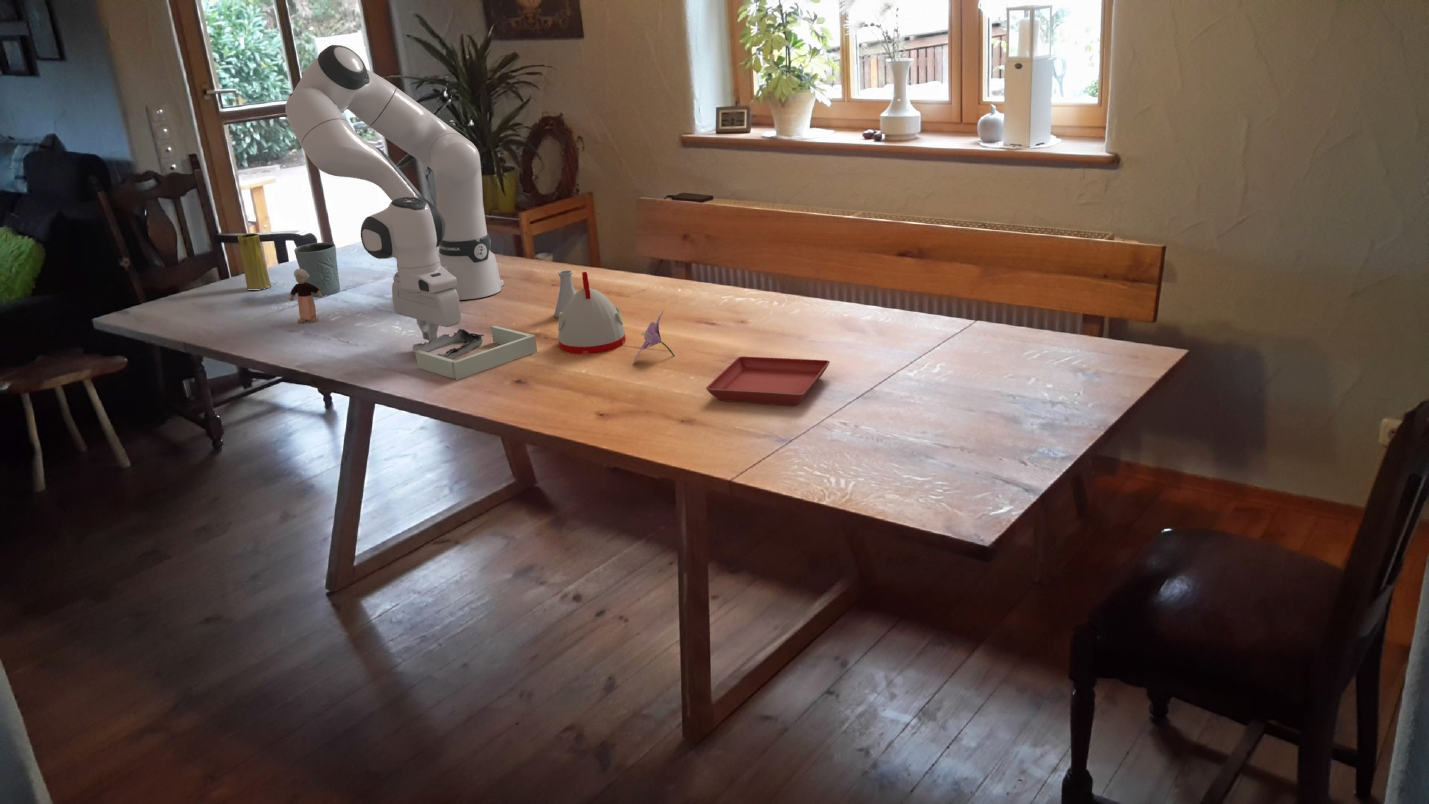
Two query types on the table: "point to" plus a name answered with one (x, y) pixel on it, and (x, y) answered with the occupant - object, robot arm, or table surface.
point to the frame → (481, 355)
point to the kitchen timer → (590, 323)
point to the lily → (652, 336)
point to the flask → (564, 291)
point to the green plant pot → (320, 266)
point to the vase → (253, 261)
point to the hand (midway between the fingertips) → (430, 339)
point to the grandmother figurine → (305, 296)
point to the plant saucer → (767, 380)
